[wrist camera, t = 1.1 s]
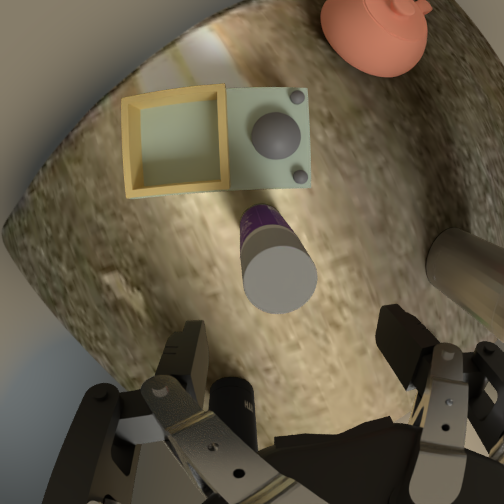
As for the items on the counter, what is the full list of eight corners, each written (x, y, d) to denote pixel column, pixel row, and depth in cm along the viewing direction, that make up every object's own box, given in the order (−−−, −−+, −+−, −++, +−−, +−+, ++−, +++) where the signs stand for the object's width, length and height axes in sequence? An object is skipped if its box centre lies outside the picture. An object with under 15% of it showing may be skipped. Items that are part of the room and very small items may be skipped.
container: (237, 206, 30) (236, 248, 16) (281, 201, 30) (318, 238, 16) (242, 248, 32) (245, 320, 17) (284, 243, 32) (319, 310, 17)
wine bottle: (207, 400, 39) (194, 584, 10) (214, 373, 37) (202, 585, 8) (247, 407, 40) (258, 586, 11) (258, 380, 38) (279, 585, 9)
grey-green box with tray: (294, 101, 27) (316, 79, 18) (297, 182, 30) (320, 191, 21) (145, 112, 26) (111, 96, 18) (149, 191, 29) (116, 204, 20)
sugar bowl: (294, 15, 23) (314, -31, 14) (376, -10, 21) (410, -44, 12) (356, 97, 27) (402, 76, 17) (429, 61, 25) (477, 43, 15)
